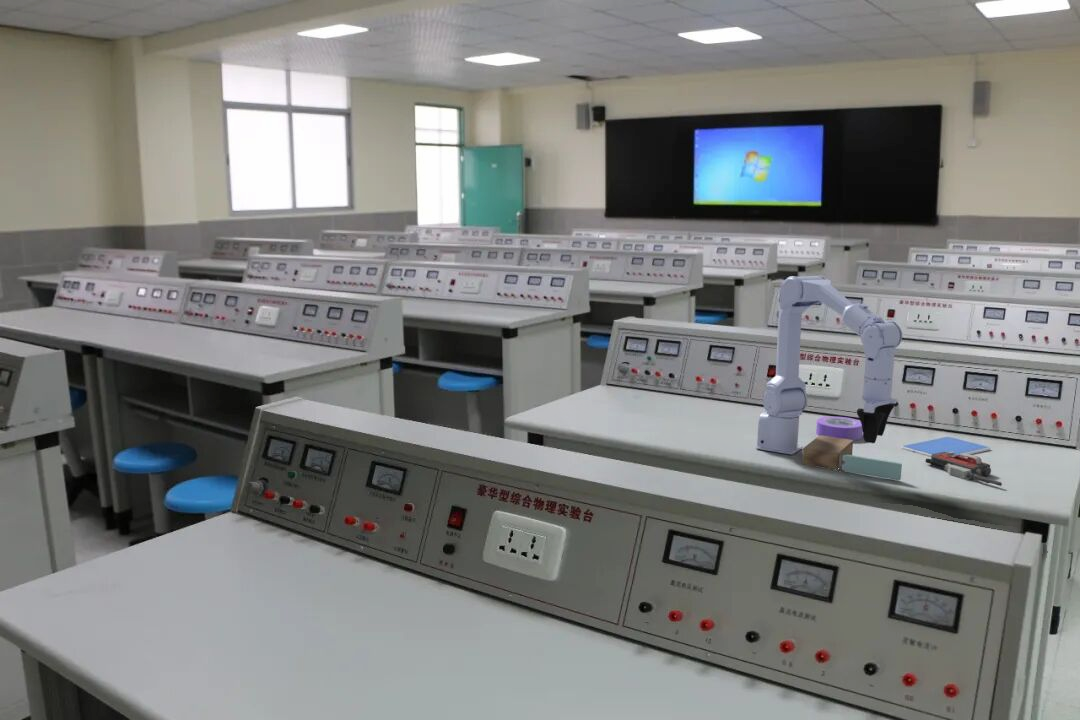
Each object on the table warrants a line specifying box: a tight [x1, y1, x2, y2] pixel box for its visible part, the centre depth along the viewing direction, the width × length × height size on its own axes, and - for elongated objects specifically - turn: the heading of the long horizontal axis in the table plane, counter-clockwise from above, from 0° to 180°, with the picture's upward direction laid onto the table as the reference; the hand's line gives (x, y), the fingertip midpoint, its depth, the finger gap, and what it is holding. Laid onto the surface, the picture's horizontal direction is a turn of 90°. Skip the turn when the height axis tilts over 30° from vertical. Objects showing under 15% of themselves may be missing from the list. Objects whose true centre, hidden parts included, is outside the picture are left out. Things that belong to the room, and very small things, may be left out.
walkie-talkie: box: [925, 451, 1003, 487], centre depth 200 cm, size 9×4×20 cm
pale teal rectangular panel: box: [842, 454, 903, 481], centre depth 198 cm, size 13×1×4 cm, turn 57°
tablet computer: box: [900, 436, 991, 458], centre depth 221 cm, size 19×13×1 cm, turn 120°
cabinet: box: [801, 435, 854, 472], centre depth 209 cm, size 9×15×4 cm, turn 147°
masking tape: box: [815, 416, 863, 441], centre depth 234 cm, size 12×12×4 cm
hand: (873, 438), depth 192 cm, fingers open, 7 cm apart
